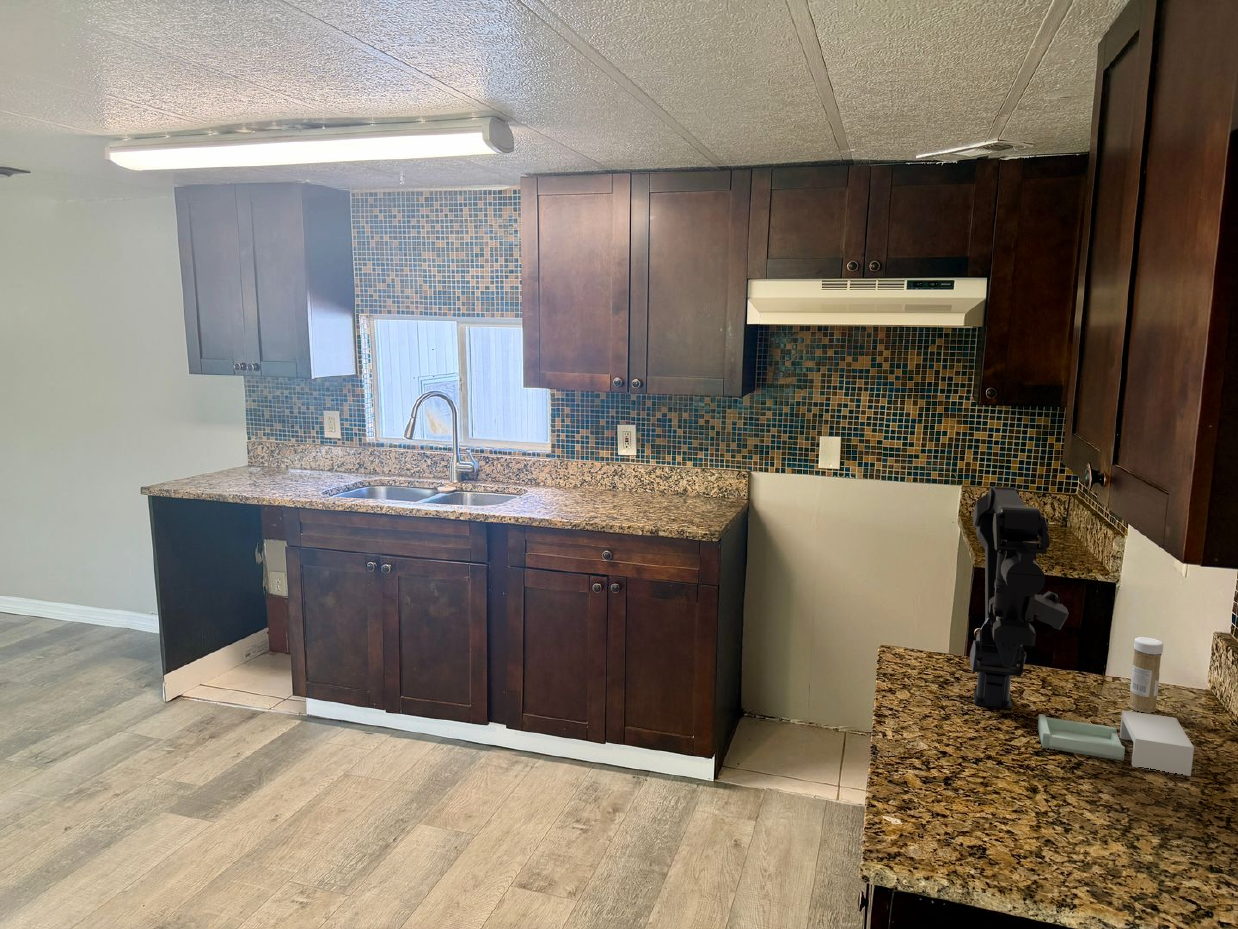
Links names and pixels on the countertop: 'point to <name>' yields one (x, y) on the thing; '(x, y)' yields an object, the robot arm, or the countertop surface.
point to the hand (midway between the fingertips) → (1007, 666)
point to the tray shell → (1080, 738)
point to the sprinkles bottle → (1145, 674)
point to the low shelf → (1157, 742)
